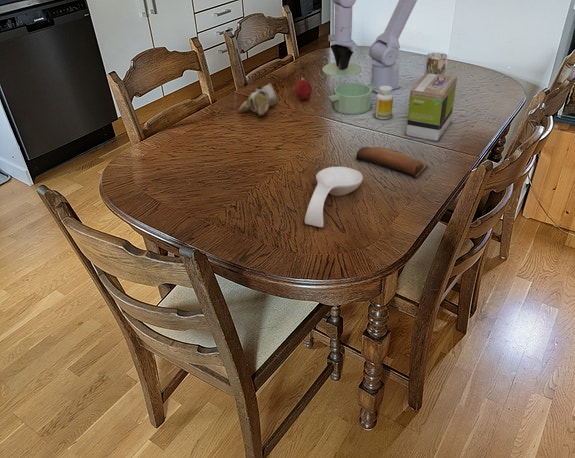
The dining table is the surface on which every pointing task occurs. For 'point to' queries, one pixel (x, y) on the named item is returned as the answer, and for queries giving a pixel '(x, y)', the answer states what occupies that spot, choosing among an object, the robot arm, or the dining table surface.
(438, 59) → the beer glass
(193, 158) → the dining table surface
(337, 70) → the lid
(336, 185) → the spoon rest
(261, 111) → the ceramic sculpture
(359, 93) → the pot
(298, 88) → the onion
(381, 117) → the supplement bottle
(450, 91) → the tea box
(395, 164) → the sunglasses case
